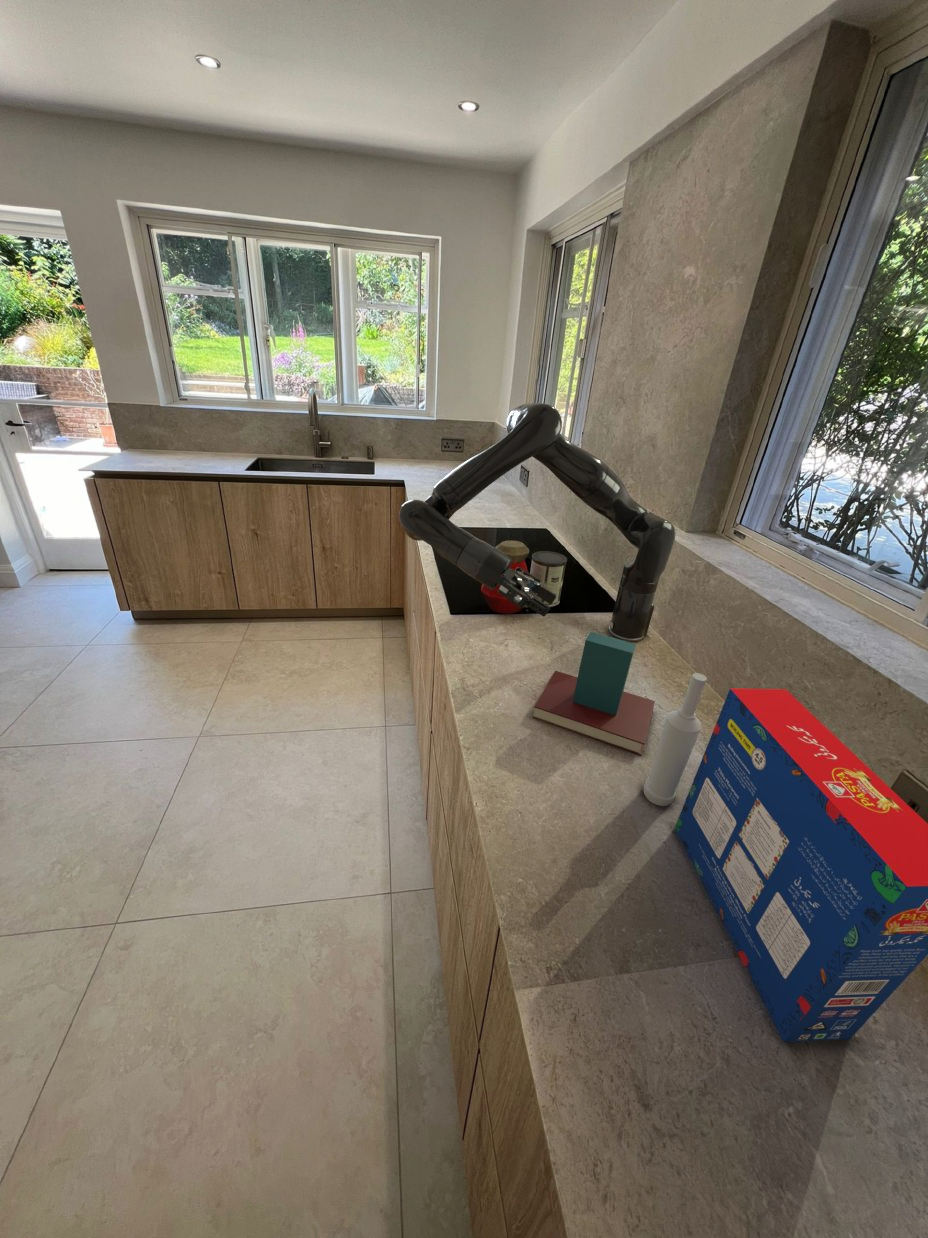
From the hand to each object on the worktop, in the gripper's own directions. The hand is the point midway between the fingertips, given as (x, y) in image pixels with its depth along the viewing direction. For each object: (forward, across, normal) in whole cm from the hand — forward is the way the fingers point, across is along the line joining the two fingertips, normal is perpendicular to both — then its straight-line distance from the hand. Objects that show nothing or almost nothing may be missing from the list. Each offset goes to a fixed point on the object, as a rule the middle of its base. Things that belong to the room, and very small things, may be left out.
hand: (551, 606), depth 100 cm
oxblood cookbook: (+20, 0, +15) cm, 25 cm away
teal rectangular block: (+19, -1, +12) cm, 23 cm away
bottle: (+33, -18, +13) cm, 40 cm away
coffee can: (-1, +51, +17) cm, 53 cm away
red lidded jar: (-9, +40, +22) cm, 47 cm away
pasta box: (+44, -36, +10) cm, 58 cm away
